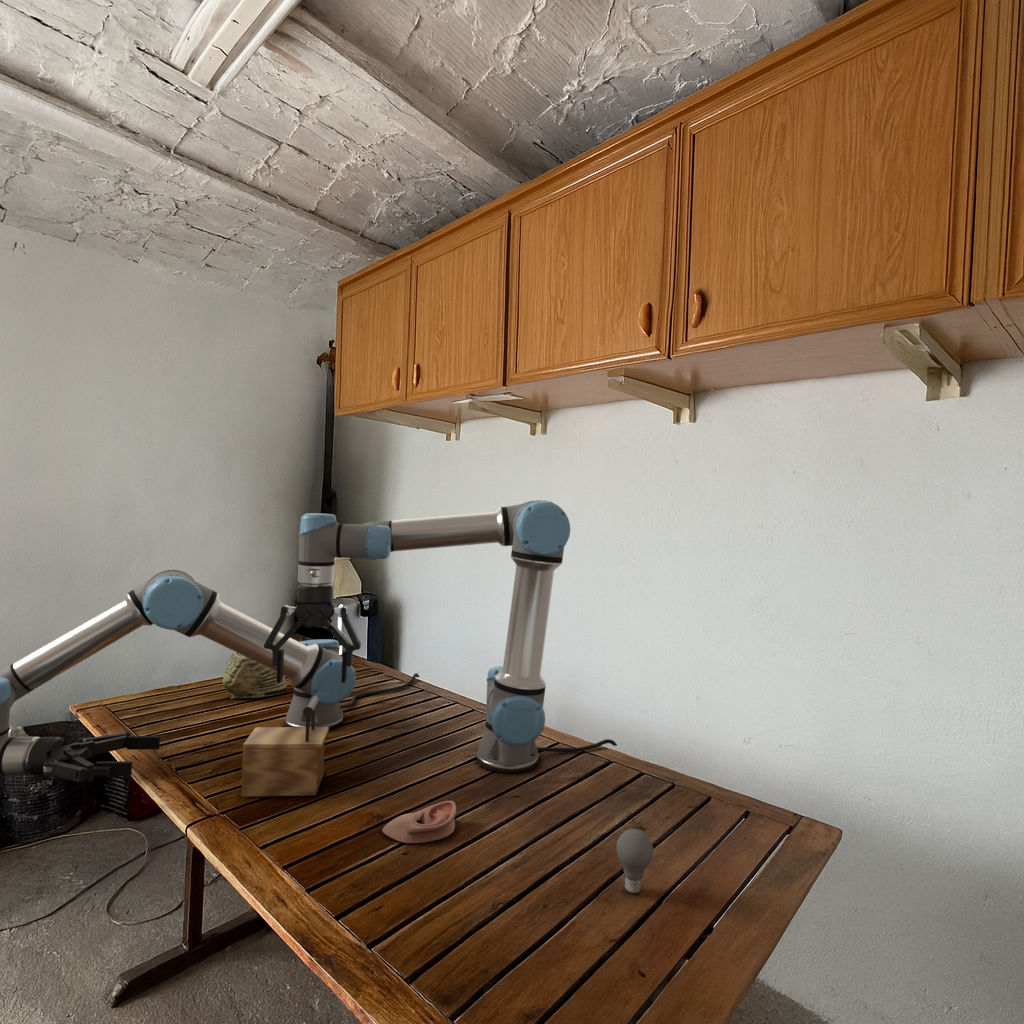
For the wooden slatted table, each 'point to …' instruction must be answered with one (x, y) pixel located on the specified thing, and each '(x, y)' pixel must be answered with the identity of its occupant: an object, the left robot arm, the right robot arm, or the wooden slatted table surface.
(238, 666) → the fossil
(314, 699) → the lid
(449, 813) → the anatomical model
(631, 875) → the light bulb
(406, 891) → the wooden slatted table surface
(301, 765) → the chest
